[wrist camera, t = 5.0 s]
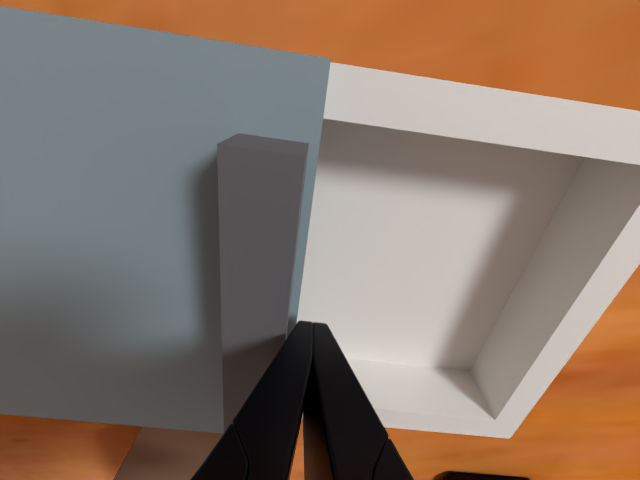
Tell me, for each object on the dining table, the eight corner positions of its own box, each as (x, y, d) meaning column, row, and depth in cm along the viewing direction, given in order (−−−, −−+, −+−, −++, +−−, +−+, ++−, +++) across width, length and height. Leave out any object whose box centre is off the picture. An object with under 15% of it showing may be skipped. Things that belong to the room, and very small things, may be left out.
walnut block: (238, 456, 20) (214, 562, 15) (163, 449, 20) (116, 556, 15) (239, 410, 18) (211, 519, 13) (154, 402, 17) (96, 511, 13)
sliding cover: (283, 419, 13) (276, 482, 11) (-83, 386, 12) (-167, 447, 10) (330, 61, 7) (333, 48, 5) (-408, -55, 6) (-804, -135, 4)
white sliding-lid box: (478, 380, 16) (509, 438, 13) (-86, 323, 14) (-179, 376, 12) (628, 117, 10) (741, 126, 7) (-316, -31, 8) (-615, -88, 6)
